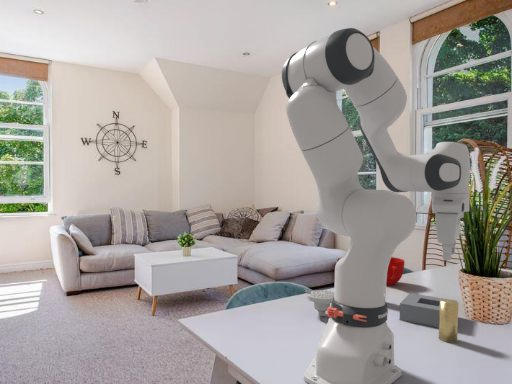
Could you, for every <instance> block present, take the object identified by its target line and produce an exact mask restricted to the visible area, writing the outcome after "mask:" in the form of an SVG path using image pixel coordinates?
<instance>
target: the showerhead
mask: <svg viewBox="0 0 512 384" xmlns="http://www.w3.org/2000/svg"><path fill="white" fill-rule="evenodd" d="M305 293H306V299H307V300H308V301H310V302H312V303H313V308H314V309H315V310H317V311H318V313H317V315H318V316H320V317H325V316H326V315H327V312H328V311H327V310H328V307H331V303H332V299H333V297H334V291H330V290H324V289H322V290H320V289H318V290H317V289H315V290H307V289H306V290H305Z"/></svg>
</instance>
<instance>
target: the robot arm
mask: <svg viewBox="0 0 512 384" xmlns="http://www.w3.org/2000/svg"><path fill="white" fill-rule="evenodd" d="M281 81H282V84H283V88H284V90H285V93H286V96H287V98H288V100H287V103H286V107H285V111H286V115H287V119H288V123H289V126H290V128H291V131H292V135H293V137H294V138H295V141H296V144H297V146H298V147H299V149H300V151H301V154H302V155H303V157H304V160H305V161H306V163H307V165H308V167H309V169H310V171H311V173H312V176H313V178H314V181H315V184H316V186H317V190H318V197H319V198H318V202H317V204H316V209H315V211H316V218H317V220H318V222H319V224H320V226H322V227H323V228H325V229H326V230H328V231H330V232H332V233H334V234H335V235H340V236H344V237H349V238H350V242H349V246H348V250H347V251H346V254H345V255H344V256H343V257H341V258H339V260H338V261H337V262H336V264H335V266H334V287H333V289H334V290H333V293H334V297H333V299H332V303H330V307H328V310H327V311H326V315H327V317H329V318H328V321H327V323H326V325H325V328H324V330H323V334H322V336H321V337H320V341H319V343H318V346H317V347H316V348H317V349H316V352H315V355H314V356H313V358H312V360H311V362H310V364H309V365H308V367H307V369H306V370H305V372H304V374H303V380H304V381H305V382H307V384H393V383H394V382H395V381H397V380H398V379H399V378H400V377H402V376H403V372H402V371H403V370H402V369H401V368H400V367H399V366H398V365H396V364H395V335H394V332H393V331H392V329H390V327H389V325H388V324H387V320H388V313H389V308H388V303H387V302H386V298H387V296H386V295H387V285H386V280H387V270H388V266H389V262H390V259H391V257H393V254H394V253H395V250H396V249H397V248H398V246H399V245H400V244H401V243H402V242H404V241H406V239H408V238H409V237H410V235H412V233H413V231H414V229H415V227H416V223H417V212H416V211H417V210H416V208H415V206H414V203H413V201H412V200H411V199H410V198H409V197H407V196H406V195H404V194H401V193H407V192H411V193H412V192H415V193H416V192H417V193H418V192H419V193H423V192H424V193H425V192H426V193H427V192H428V193H431V211H432V212H433V213H435V232H436V238H437V239H436V240H437V243H439V244H442V245H441V247H442V248H441V249H442V259H443V260H444V261H451V259H452V256H454V255H455V253H456V243H457V240H458V238H459V236H460V235H461V219H463V218H464V217H465V213H466V212H467V213H468V212H470V200H471V199H470V198H471V197H470V196H471V195H470V189H469V188H470V187H469V182H470V179H471V178H470V177H471V160H470V159H471V158H470V151H469V148H468V146H467V145H466V144H464V143H462V142H459V141H448V140H447V141H445V140H444V141H441V142H438V143H436V145H435V148H433V149H432V150H430V151H427V152H425V153H419V154H410V155H409V154H403V153H401V152H399V151H398V149H397V148H396V146H395V143H394V142H393V139H392V138H391V135H390V133H389V130H388V128H389V127H390V126H392V125H394V123H395V122H397V120H398V119H399V118H400V117H401V116H402V114H403V113H404V111H405V109H406V107H407V102H408V97H407V96H408V95H407V92H406V90H405V88H404V85H403V83H402V81H401V79H399V77H398V75H397V74H396V72H395V71H394V69H393V68H392V67H391V65H390V64H389V62H388V61H387V60H386V59H385V57H384V56H383V55H382V54H381V53H380V52H379V51H378V50H377V48H375V46H373V44H372V41H371V40H370V39H369V37H368V36H367V35H366V34H365V33H364V32H362V31H361V30H359V29H357V28H354V27H347V28H343V29H339V30H336V31H334V32H333V33H331V34H329V35H327V36H323V37H322V38H320V39H317V40H314V41H312V42H311V43H308V44H307V45H306V46H303V48H301V49H300V50H298V51H297V52H294V53H293V54H291V56H290V57H289V58H287V60H286V61H285V63H284V64H283V66H282V69H281ZM340 90H344V91H345V93H346V95H347V97H348V98H349V99H350V102H351V103H352V104H353V106H354V107H355V109H356V111H357V113H358V115H359V119H358V124H359V129H360V132H361V134H362V136H363V139H364V140H365V143H366V144H367V146H368V149H369V150H370V152H371V155H372V157H373V158H374V160H375V163H376V165H377V166H378V169H379V173H380V175H381V179H382V181H383V183H384V185H385V187H387V188H386V189H366V188H364V187H363V186H362V185H361V183H360V178H359V171H360V170H361V168H362V166H363V163H364V155H363V153H362V151H361V149H360V146H359V143H358V142H357V140H356V138H355V136H354V133H353V131H352V129H351V128H350V125H349V124H348V123H349V122H348V121H347V119H346V117H345V115H344V114H343V112H342V109H340V106H339V105H338V101H337V92H338V91H340ZM387 189H388V190H387Z"/></svg>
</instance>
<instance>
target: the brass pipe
mask: <svg viewBox="0 0 512 384" xmlns="http://www.w3.org/2000/svg"><path fill="white" fill-rule="evenodd" d="M448 299H449V298H444V299H442V300H440V311H439V328H438V340H440V341H442V342H444V343H448V344H455V343H457V342H458V332H459V331H458V330H459V329H458V327H459V326H458V325H459V305H460V304H459V302H458V300H456V301H454V299H450V300H448Z"/></svg>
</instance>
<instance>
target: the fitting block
mask: <svg viewBox="0 0 512 384" xmlns="http://www.w3.org/2000/svg"><path fill="white" fill-rule="evenodd" d="M442 299H445V298H444V297H438V296H430V295H425V294H417V293H412V292H410V293H408V294H407V295H406V297H405V298H404V299H403V300H402V301H401V302H400V303H399V321H403V322H407V321H408V322H409V323H413V324H417V325H418V324H419V325H423V326H428V327H434V328H438V329H439V311H440V300H442ZM447 299H448V300H451V299H449V298H447ZM453 300H454V299H453ZM454 301H457V300H454Z"/></svg>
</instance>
